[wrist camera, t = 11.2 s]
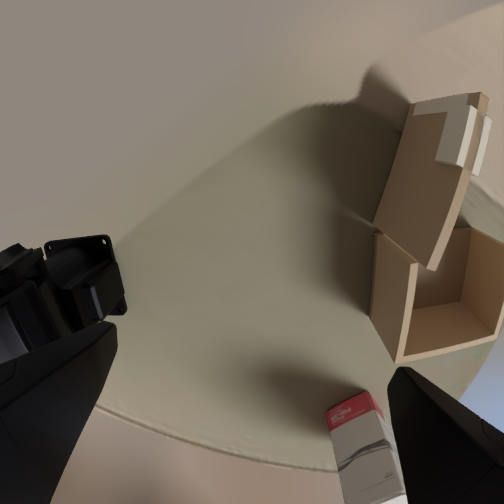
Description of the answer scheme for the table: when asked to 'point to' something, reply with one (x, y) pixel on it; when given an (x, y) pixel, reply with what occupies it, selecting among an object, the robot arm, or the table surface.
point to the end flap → (433, 173)
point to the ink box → (365, 453)
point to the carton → (437, 296)
